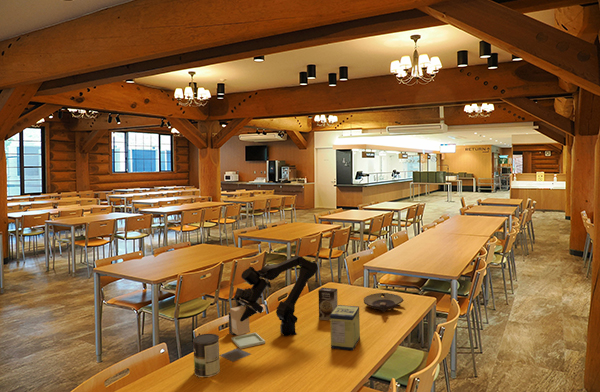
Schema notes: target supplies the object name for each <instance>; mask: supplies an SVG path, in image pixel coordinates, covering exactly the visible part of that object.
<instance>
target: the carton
mask: <svg viewBox="0 0 600 392" xmlns="http://www.w3.org/2000/svg"><path fill="white" fill-rule="evenodd" d="M229 309H230V310H229V312H230V313H231V325H232V332H233V333H235V334H236V335H235V336H241V335H246V334H249V333H251V329H250V317H249V318H247V319H245V320H244V321H242V322H241V321H240V319H241V317H242V315H243V314H244V312H245V310H246V306H245V307H244V306H238V307H236V306H235V307H231V308H229Z"/></svg>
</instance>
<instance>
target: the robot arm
mask: <svg viewBox="0 0 600 392" xmlns="http://www.w3.org/2000/svg"><path fill="white" fill-rule="evenodd" d="M297 266H298V267H300V268H299V276H298V277H297V278H296V279H297V280H296V281H295V283H294V285H293V287H292V289H291V290H290V292H289V294H288V296H287V298H286V299H285V300H284V301H280V302H279V303H278V306H277V307H276V311H275V313H276V317H278V320H279V321H280V327H279V328H280V331H279V332H280V334H282V336H283V337H289V336H294V335H297V332H296V323H297V322H298V317H297V316H296V315H295V312H296V311H295V310H296V309H295V308H296V303H297V302H298V300H299V298H300V296H301V294H302V292H303V291H304V289H305V287H306V285H307V282H308V281H309V280H310V279H312V278H313V277H314V276H315V275H316V273H317V272H318V269H319V267H318V264H317V263H316V262H314V261H310V260H308V259H306V258H305V257H303V256H300V255H294V256H293V257H290V258H289V259H286V260H284V261H281V262H279V263H277V264H271V265H265V266H262V268H261V269H259V270H256V269H255V268H254V267H253V266H249V267H248V268H246V269H245V270H243V272H242V273H241V279H243V280H244V281H245V282H246V283H248V284H249V285H250V286H251V287H250V288H249V287H248V288H240V287H237V288H236V291H235V295H234V296H233V298H232V299H233V300H234V301H235V303H236V304H235V305H236V306H235V307H238V306H244V307H246V310H245V312H244V314H243V315H242V317H241V319H240V321H241V322H242V321H244V320H245V319H247V318H249V319H250V317H252V316H254V315H255V314H258V313H259V314H262V313H263V312H264V307H263V306H262V305H261V304H260V303H258V300H259V299H262V298H263V296H262V294H263V293H264V291H265V290H266V289H267V288H269V289H271V288H272V287H271V286H272V285H271V282H270V281H274V280H275V279H276V278H278V277H279V276H280V274H282V273H284V272H286V271H288V270H291V269H293V268H295V267H297ZM267 280H268V281H267Z"/></svg>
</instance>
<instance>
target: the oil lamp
mask: <svg viewBox="0 0 600 392" xmlns="http://www.w3.org/2000/svg"><path fill="white" fill-rule="evenodd" d="M403 298H404V297H402V296H400V295H398V294H395V293H391V292H390V293H388V292H378V293H377V292H376V293H371V294H369V295H366V296H365V297H364V298H363V303H364V304H365V305H366V306H368V307H370V308H372V309H375V310H379V311H381V312H386V311H388V310H389V311H390V310H392V309H396V308H398V307H400V306H401V303H403V302H404V299H403Z"/></svg>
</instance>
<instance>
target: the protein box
mask: <svg viewBox="0 0 600 392" xmlns="http://www.w3.org/2000/svg"><path fill="white" fill-rule="evenodd" d="M329 321H330V348H331V349H336V350H343V351H354V350H355V348H356V346H357V344H358V343H359V340H360V339H361V325H360V306H355V305H345V304H344V305H342V304H337V307H336V309H335V310H334V311H333V312H332V313H331V315H330V320H329Z"/></svg>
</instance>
